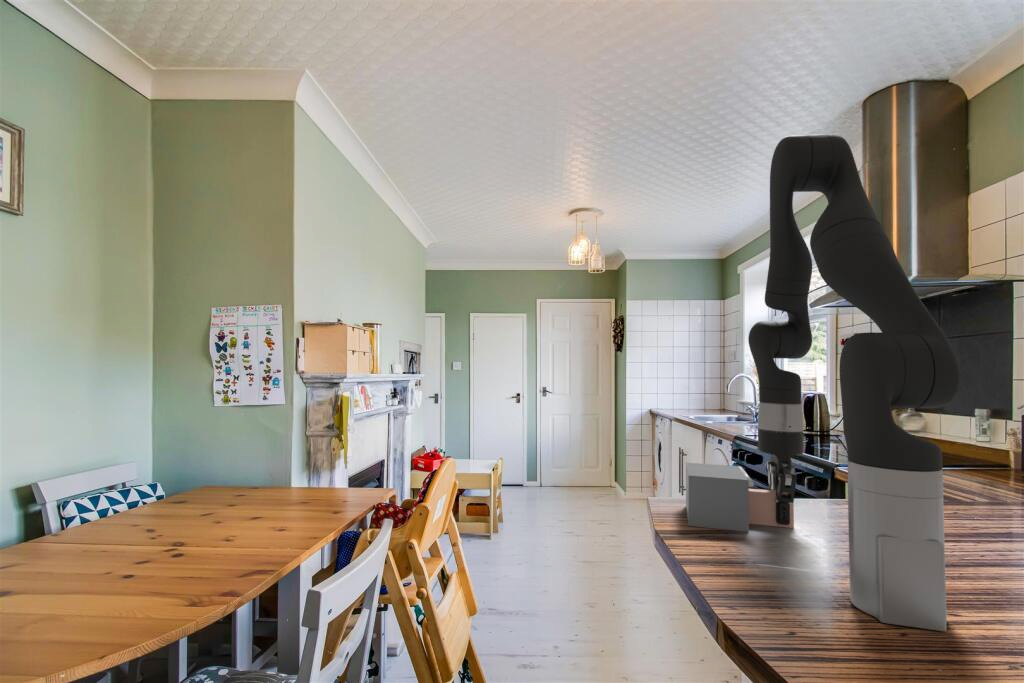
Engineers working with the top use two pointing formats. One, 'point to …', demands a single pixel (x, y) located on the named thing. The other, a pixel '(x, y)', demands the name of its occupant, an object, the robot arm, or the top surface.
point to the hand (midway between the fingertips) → (781, 521)
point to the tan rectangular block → (766, 508)
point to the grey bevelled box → (717, 496)
